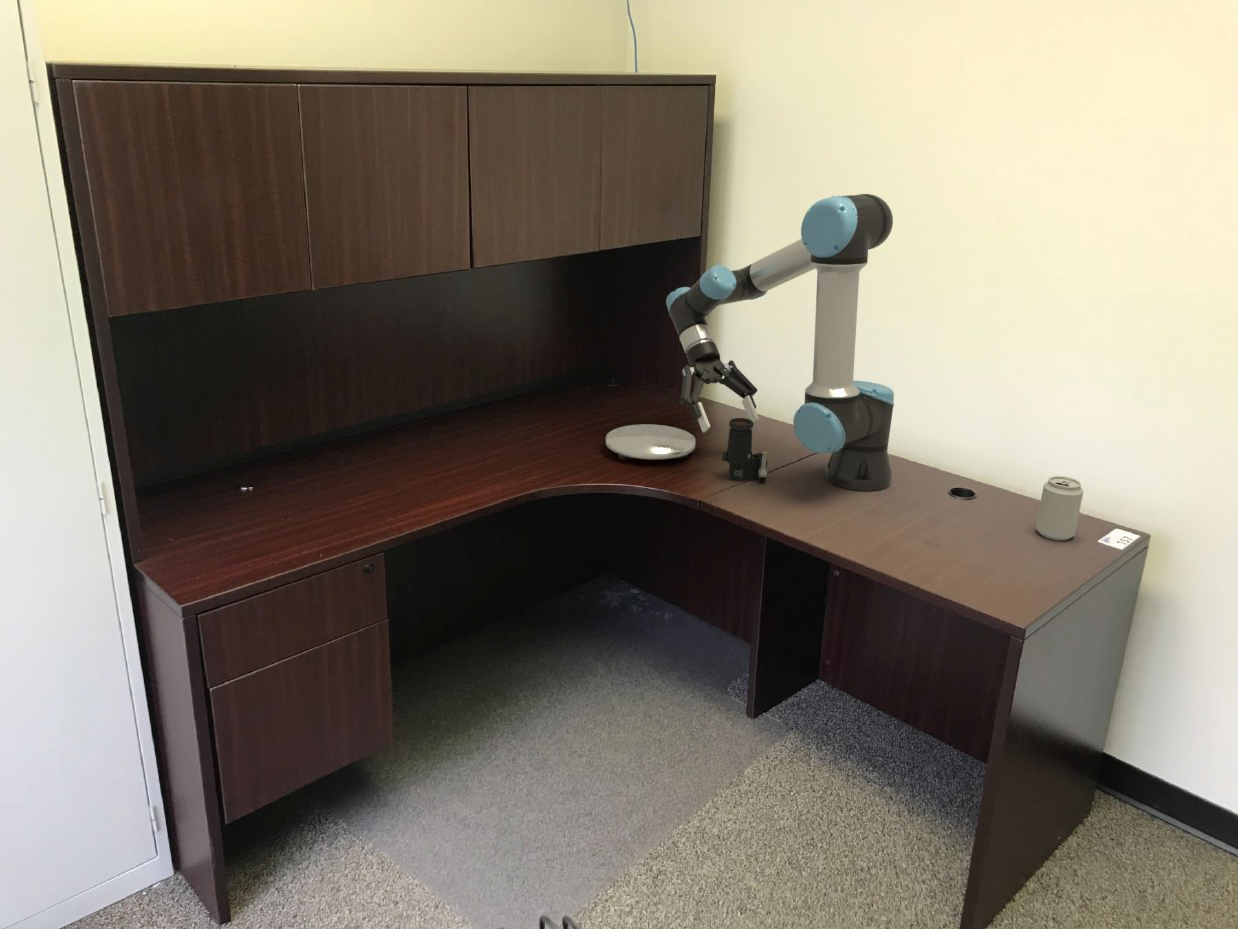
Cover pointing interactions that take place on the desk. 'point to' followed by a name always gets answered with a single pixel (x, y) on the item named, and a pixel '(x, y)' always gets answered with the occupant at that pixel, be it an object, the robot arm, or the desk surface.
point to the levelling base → (650, 442)
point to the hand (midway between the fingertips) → (731, 426)
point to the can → (1059, 508)
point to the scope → (744, 453)
